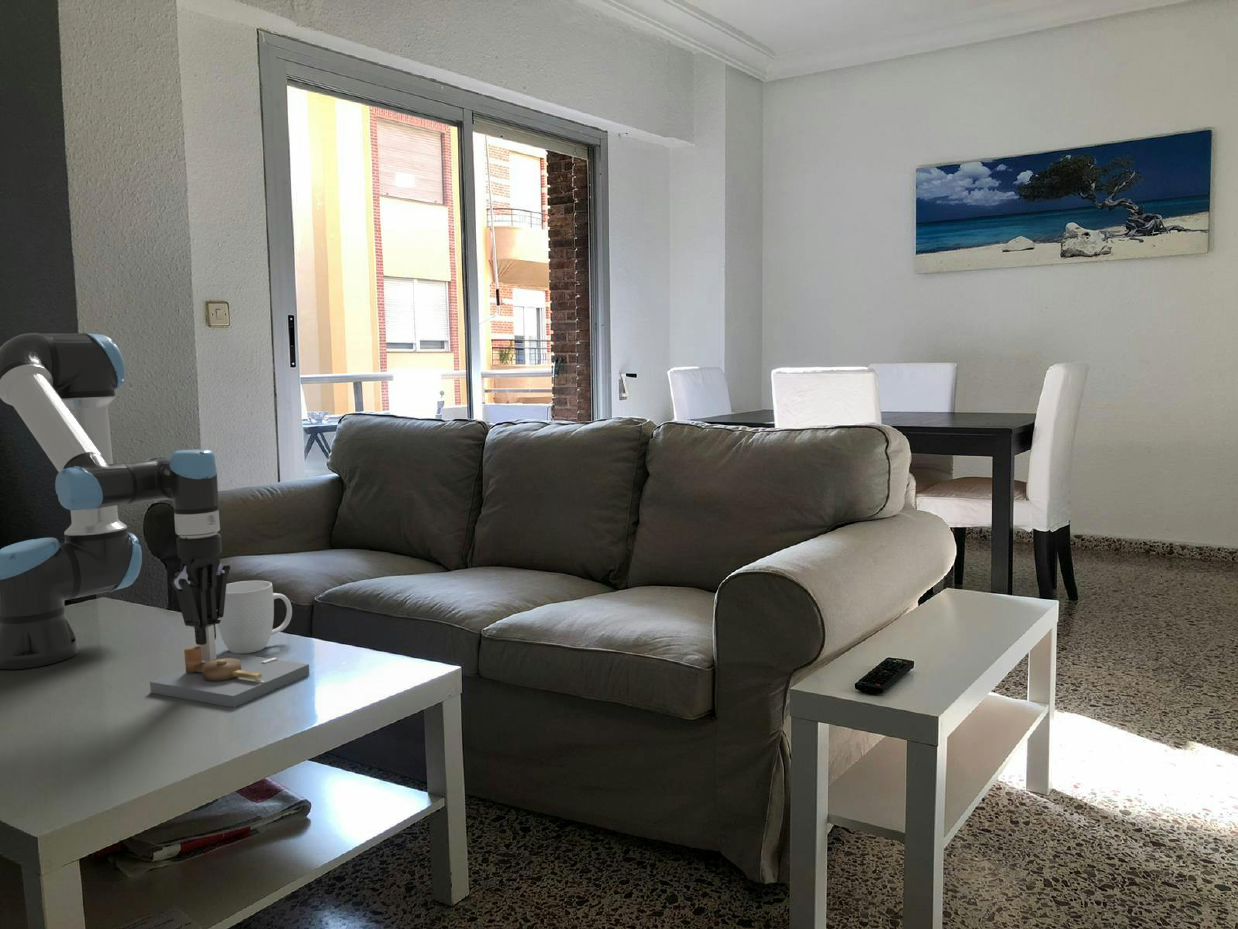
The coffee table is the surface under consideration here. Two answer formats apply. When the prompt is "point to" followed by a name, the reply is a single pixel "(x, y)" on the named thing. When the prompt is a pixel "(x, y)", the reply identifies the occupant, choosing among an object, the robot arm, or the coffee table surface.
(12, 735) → the coffee table surface
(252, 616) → the mug
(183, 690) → the board
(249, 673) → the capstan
